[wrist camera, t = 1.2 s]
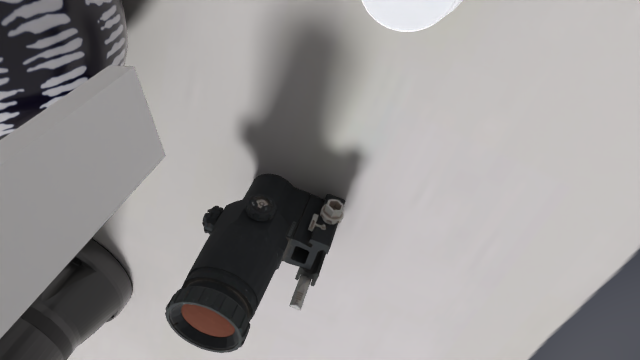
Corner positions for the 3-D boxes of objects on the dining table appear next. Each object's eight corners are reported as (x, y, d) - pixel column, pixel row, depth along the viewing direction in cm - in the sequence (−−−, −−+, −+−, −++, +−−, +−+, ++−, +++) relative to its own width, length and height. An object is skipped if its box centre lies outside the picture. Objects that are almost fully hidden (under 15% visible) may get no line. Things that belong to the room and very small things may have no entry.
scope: (278, 391, 32) (145, 337, 32) (326, 248, 42) (225, 208, 42) (308, 333, 26) (147, 269, 26) (354, 186, 37) (238, 141, 37)
